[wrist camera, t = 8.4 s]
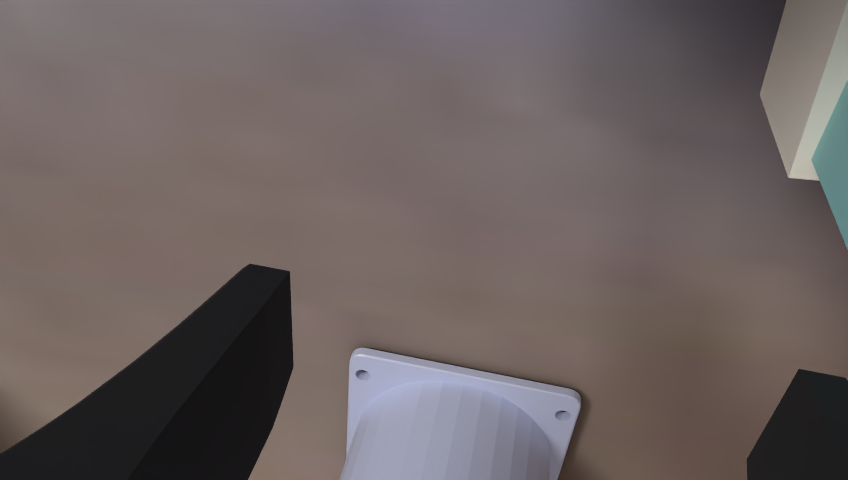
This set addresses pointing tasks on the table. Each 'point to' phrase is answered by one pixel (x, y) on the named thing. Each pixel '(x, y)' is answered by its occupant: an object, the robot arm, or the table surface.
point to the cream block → (805, 79)
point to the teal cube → (835, 162)
